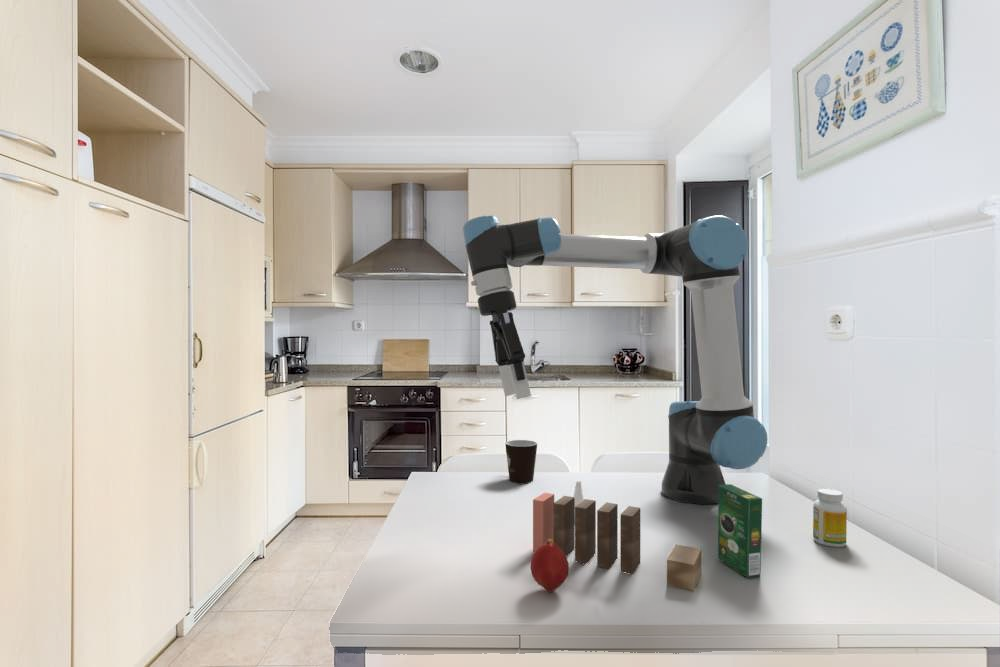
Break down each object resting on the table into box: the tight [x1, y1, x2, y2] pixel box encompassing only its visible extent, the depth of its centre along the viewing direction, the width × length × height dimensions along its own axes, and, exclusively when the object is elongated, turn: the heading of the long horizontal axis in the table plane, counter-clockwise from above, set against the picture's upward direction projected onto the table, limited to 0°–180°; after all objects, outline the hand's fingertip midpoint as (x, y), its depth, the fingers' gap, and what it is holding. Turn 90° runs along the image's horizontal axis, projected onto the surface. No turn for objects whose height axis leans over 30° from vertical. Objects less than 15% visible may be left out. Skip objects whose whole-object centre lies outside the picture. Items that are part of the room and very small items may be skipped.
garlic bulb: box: [573, 480, 585, 506], centre depth 114 cm, size 6×6×8 cm
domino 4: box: [596, 501, 619, 570], centre depth 91 cm, size 2×5×10 cm, turn 151°
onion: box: [530, 539, 570, 593], centre depth 81 cm, size 6×6×8 cm
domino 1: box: [532, 492, 555, 553], centre depth 97 cm, size 2×5×10 cm, turn 151°
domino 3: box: [574, 498, 597, 565], centre depth 93 cm, size 2×5×10 cm, turn 151°
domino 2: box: [553, 495, 575, 557], centre depth 95 cm, size 2×5×10 cm, turn 151°
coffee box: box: [717, 483, 763, 579], centre depth 89 cm, size 8×3×13 cm, turn 13°
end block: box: [666, 544, 702, 592], centre depth 85 cm, size 4×7×4 cm, turn 151°
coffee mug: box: [505, 439, 538, 484], centre depth 145 cm, size 12×9×10 cm
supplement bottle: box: [812, 488, 848, 548], centre depth 101 cm, size 5×5×10 cm
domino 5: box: [619, 505, 641, 575], centre depth 90 cm, size 2×5×10 cm, turn 151°
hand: (517, 396), depth 107 cm, fingers open, 13 cm apart
